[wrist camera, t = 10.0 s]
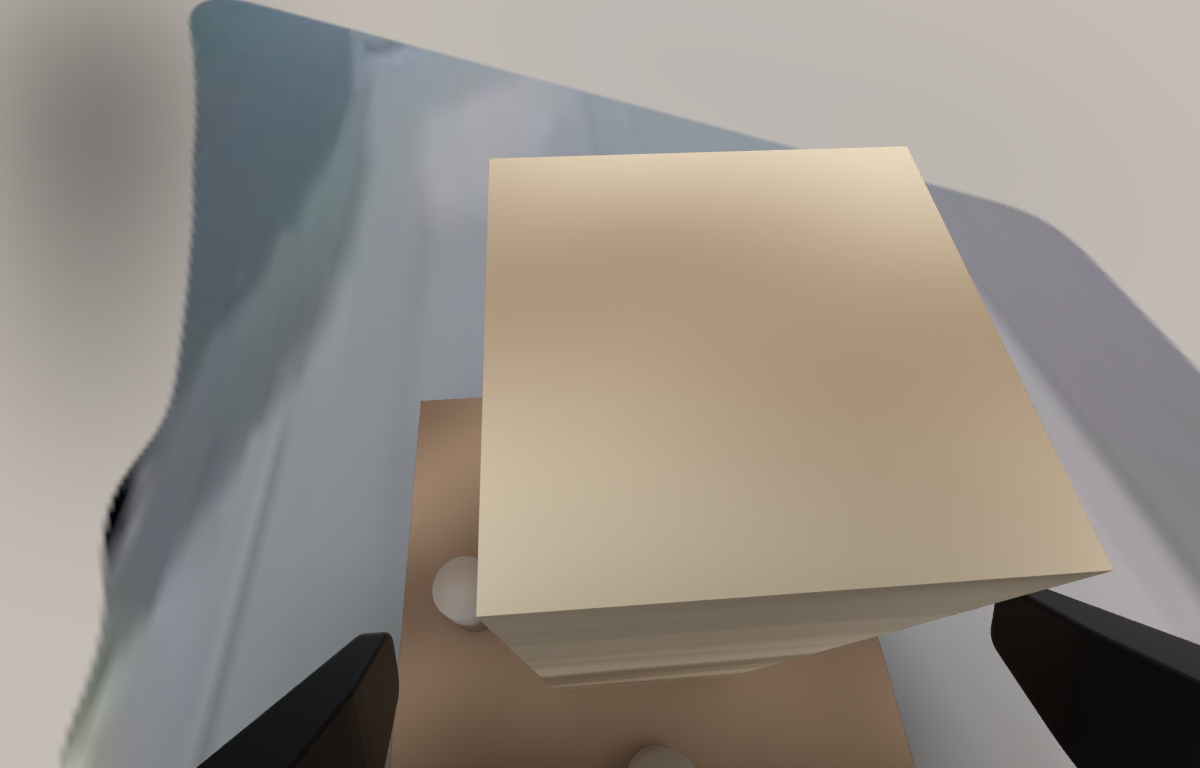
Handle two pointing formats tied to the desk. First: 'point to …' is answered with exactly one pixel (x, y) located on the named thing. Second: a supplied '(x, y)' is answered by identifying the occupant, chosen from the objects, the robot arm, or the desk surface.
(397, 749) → the board
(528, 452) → the birch block
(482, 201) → the desk surface
